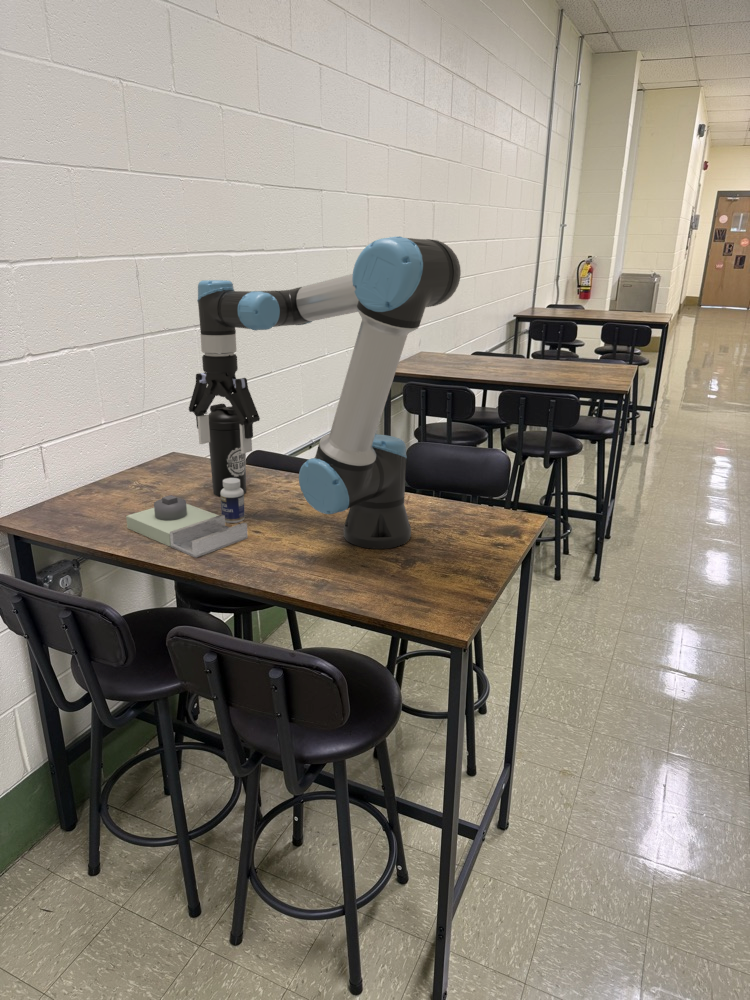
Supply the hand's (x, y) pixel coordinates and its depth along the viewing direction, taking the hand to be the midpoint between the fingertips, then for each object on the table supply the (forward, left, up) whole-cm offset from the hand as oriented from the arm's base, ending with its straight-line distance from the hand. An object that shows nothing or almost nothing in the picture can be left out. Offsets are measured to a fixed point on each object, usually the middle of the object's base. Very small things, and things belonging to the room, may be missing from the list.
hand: (225, 447), depth 158 cm
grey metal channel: (-9, +13, -17) cm, 23 cm away
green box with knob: (+4, +13, -17) cm, 22 cm away
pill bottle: (-2, 0, -18) cm, 18 cm away
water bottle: (+14, -12, -17) cm, 26 cm away
